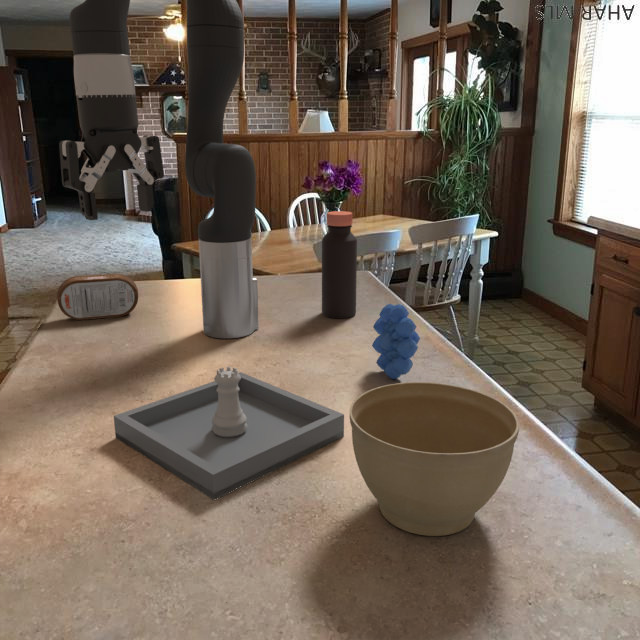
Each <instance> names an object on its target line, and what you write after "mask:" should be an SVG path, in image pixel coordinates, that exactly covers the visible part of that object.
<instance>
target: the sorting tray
mask: <svg viewBox="0 0 640 640" xmlns="http://www.w3.org/2000/svg"><path fill="white" fill-rule="evenodd" d="M238 374H239V375H240V376H241V379H240V381H239V382H238V387H239V388H240V390H239V392H238V397H239V403H240V407H241V409H242V410H243V413H244V414H245V416H246V418H247V421H246V424H247V425H248V427H247V430H246V431H245V432H244V433H243V434H242V435H240V436H237V437H233V438H224V437H219V436H217V435H216V434H215V433H214V432H213V431H212V426H213V424H212V419H213V416H214V415H215V412H216V411H217V408H218V392H217V391H216V390H217V388H218V384H217V383H216V381H215V380H214V381H211V382H208V383H205V384H202V385H200V386H197V387H194V388H190V389H187V390H185V391H182V392H178V393H177V394H174V395H173V394H172V395H171V396H166V397H164V398H161V399H158V400H156V401H153V402H152V401H151V402H150V403H148V404H143V405H141V406H139V407H135V408H132V409H129V410H126V411H124V412H121V413H118V414H115V415H113V422H114V435H115V439H116V440H118V441H120V442H122V443H123V444H125V445H127V446H128V447H130V448H131V449H133V450H134V451H136V452H137V453H139V454H141V455H142V456H144V457H146V458H147V459H148V460H150V461H152V462H153V463H154V464H156V465H158V466H159V467H161V468H163V469H164V470H166V471H167V472H169V473H170V474H172V475H174V476H175V477H177V478H178V479H180V480H182V481H183V482H185V483H186V484H188V485H189V486H191V487H193V488H194V489H196V490H198V492H200V493H202V492H203V493H202V494H204V495H205V494H206V496H207V497H208V496H209V498H210V497H211V498H210V499H211V500H213V499H214V500H213V501H216V500H218V499H220V498H222V497H224V496H226V495H228V494H230V493H232V492H234V491H236V490H237V489H236V488H238V489H240V488H241V487H240V486H242V487H244V486H246V485H248V484H250V483H249V482H251V481H253V480H255V479H257V478H259V477H261V478H262V476H263V475H265V476H266V474H267V475H268V473H269V474H271V473H272V472H275V471H276V470H279V469H281V468H283V467H285V466H288V465H289V464H291V463H293V462H295V461H297V460H299V459H301V458H303V457H305V456H307V455H310V454H312V453H313V452H315V451H317V450H319V449H322V448H323V447H325V446H328V445H330V444H331V443H334V442H336V441H338V440H340V439H342V438H344V437H345V434H344V433H345V414H344V413H342V412H339V411H336V410H334V409H331V408H329V407H327V406H324V405H322V404H319V403H317V402H314V401H312V400H309V399H307V398H305V397H303V396H300V395H297V394H295V393H292V392H290V391H288V390H285V389H283V388H280V387H278V386H276V385H273V384H270V383H268V382H265V381H263V380H261V379H258V378H257V377H254V376H251V375H249V374H246V373H243V372H242V371H240V372H238ZM270 472H271V473H270ZM263 477H264V476H263ZM259 479H260V478H259ZM257 480H258V479H257ZM255 481H256V480H255ZM253 482H254V481H253ZM247 483H248V484H247ZM251 483H252V482H251ZM245 484H246V485H245ZM243 485H244V486H243ZM239 487H240V488H239ZM235 489H236V490H235ZM233 490H234V491H233ZM231 491H232V492H231ZM229 492H230V493H229ZM227 493H228V494H227ZM225 494H226V495H225ZM223 495H224V496H223ZM221 496H222V497H221ZM219 497H220V498H219ZM217 498H218V499H217ZM215 499H216V500H215Z"/></svg>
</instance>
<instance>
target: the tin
mask: <svg viewBox="0 0 640 640" xmlns="http://www.w3.org/2000/svg"><path fill="white" fill-rule="evenodd" d="M56 298H57V305H58V307H59V309H60V311H61V312H62V313H63V315H65V316H66V317H68V318H70V319H72V320H75V321H76V320H77V321H86V320H96V319H111V318H120V317H125V316H127V315H129V314H130V313H132V312H133V311H134V309H135V308H136V306H137V304H138V301H139V289H138V287H137V285H136V283H135V280H133V279H132V278H130V277H129V276H128V275H125V274H121V273H107V274H89V275H87V274H86V275H74V276H71V277H69V278H67V279H65V280H63V282H62V283H61V284H60V286H59V287H58V289H57V294H56Z"/></svg>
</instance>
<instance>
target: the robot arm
mask: <svg viewBox="0 0 640 640" xmlns="http://www.w3.org/2000/svg"><path fill="white" fill-rule="evenodd" d="M130 2H131V0H85V1H84V2H82V3H80V4H79V5H77V6H75V7H73V8H72V9H71V11H70V13H69V29H70V35H71V36H70V37H71V38H70V39H71V44H72V45H71V46H72V53H73V78H74V79H73V80H74V89H75V96H76V103H77V104H76V105H77V112H78V113H77V114H78V120H79V128H80V130H81V132H82V133H81V140H80V141H74V140H61V141H59V144H58V145H59V146H58V147H59V160H60V161H59V162H60V171H61V174H60V175H61V183H62V186H63V187H64V188H69V189H72V190H74V191H77V194H78V199H79V207H80V208H79V209H80V213H81V216H84V217H85V219H86V220H89V221H97V220H98V217H99V215H98V207H97V199H96V192H95V191H93V190H94V188H95V186H96V184H97V182H98V181H99V179H101V178H102V176H103V174H104V173H107V172H108V173H110V172H111V173H112V172H115V171H127V172H128V173H130V174H131V175H132V177H133V178H134V179H135V180H136V182H137V183H138V184H136V191H137V200H138V202H137V203H138V209H139V210H140V212H145V213H147V212H151V211H152V210H153V209H152V208H153V207H154V205H155V200H154V191H153V190H154V189H153V184H154V183H155V182H156V181H157V180H159V179H160V180H161V179H163V178H164V177H165V176H164V175H165V171H164V165H163V164H164V163H163V157H162V156H163V155H162V149H161V144H160V142H161V141H160V137H159V136H157V135H147V134H146V135H143V136H141V137H140V136H139V134H138V127H139V116H138V105H137V95H136V85H135V75H134V74H135V73H134V69H133V66H132V62H131V60H132V59H131V56H130V45H129V44H130V43H129V34H128V33H129V32H128V25H127V23H128V15H129V9H130V5H131V4H130ZM244 22H245V21H244V16H243V13H242V10H241V8H240V6H239V3H238V1H237V0H186V51H187V52H186V53H187V66H188V67H187V68H188V70H187V73H188V75H187V77H188V79H187V80H188V82H187V85H188V86H187V87H188V89H187V90H188V92H187V94H188V97H187V98H188V102H187V103H188V105H187V107H188V108H187V110H188V111H187V112H188V113H187V124H186V125H187V127H186V139H185V140H186V141H185V156H184V157H185V158H184V172H185V177H186V182H187V184H188V186H189V188H190V189H191V191H193V193H194V194H196V195H198V196H200V197H202V198H203V197H204V198H209V199H210V198H212V199H213V212H212V214H211V216H209V217H208V218H205V219H203V220H201V221H200V222H199V223H198V226H197V234H198V235H197V237H198V251H199V252H198V255H199V256H198V257H199V269H200V270H199V271H200V272H199V273H200V274H199V275H200V287H201V305H202V325H203V327H202V328H203V329H202V331H203V334H204V335H206V336H208V337H210V338H213V339H214V338H216V339H237V338H242V337H246V336H249V335H251V334H252V333H254V331H255V330H258V329H259V328H260V327H259V300H258V299H259V297H258V279H257V278H256V277H255V276H253V271H254V270H253V248H252V247H253V243H252V228H253V227H254V226H253V225H254V222H255V219H256V218H255V217H256V197H257V196H256V192H257V191H256V187H257V175H256V167H255V166H256V165H255V162H254V159H253V158H254V157H253V156H252V153H250V151H249V150H248V149H247V148H246V147H245V146H242V145H240V144H234V143H224V117H225V113H226V108H227V105H228V102H229V101H230V97H231V96H232V93H233V92H234V89H235V87H236V84H237V82H238V79H239V77H240V75H241V71H242V69H243V65H244V59H245V56H244V55H245V23H244ZM140 149H141V150H142V152H143V155H144V161H143V160H142V159H141V158H140V157H139V155H138V154H139V152H140ZM82 152H83V155H85V157H86V160H85V162H84V163H83V166H82V168H81V170H80V166H79V158H80V157H81V155H82ZM80 172H81V173H80Z"/></svg>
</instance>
